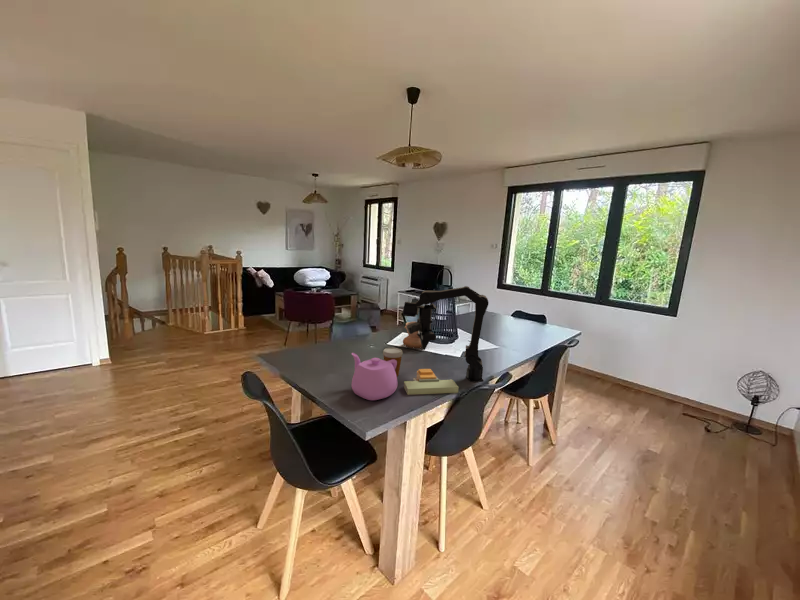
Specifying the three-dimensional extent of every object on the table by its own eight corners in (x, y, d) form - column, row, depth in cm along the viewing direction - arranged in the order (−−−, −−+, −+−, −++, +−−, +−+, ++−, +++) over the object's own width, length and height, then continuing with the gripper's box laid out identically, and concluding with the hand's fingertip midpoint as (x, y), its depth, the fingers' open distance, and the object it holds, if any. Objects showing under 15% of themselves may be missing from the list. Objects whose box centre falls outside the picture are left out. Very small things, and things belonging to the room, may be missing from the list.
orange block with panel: (431, 378, 167) (431, 368, 166) (435, 385, 159) (436, 374, 158) (416, 379, 166) (417, 368, 165) (420, 386, 158) (421, 375, 157)
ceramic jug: (396, 345, 216) (397, 322, 213) (412, 341, 226) (413, 319, 223) (418, 353, 203) (419, 329, 200) (434, 348, 213) (436, 325, 210)
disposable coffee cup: (384, 379, 164) (385, 354, 162) (379, 371, 173) (380, 347, 171) (404, 378, 166) (405, 353, 164) (398, 370, 175) (399, 346, 173)
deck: (447, 379, 167) (448, 373, 166) (458, 392, 153) (458, 385, 152) (401, 381, 162) (401, 374, 162) (407, 394, 149) (407, 387, 148)
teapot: (409, 391, 152) (410, 357, 150) (372, 406, 137) (374, 369, 134) (372, 375, 167) (373, 344, 165) (335, 388, 152) (336, 354, 149)
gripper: (404, 313, 176) (403, 344, 179) (412, 322, 158) (411, 356, 161) (426, 313, 178) (424, 343, 181) (437, 322, 160) (435, 355, 163)
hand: (423, 349), depth 171 cm, fingers closed
